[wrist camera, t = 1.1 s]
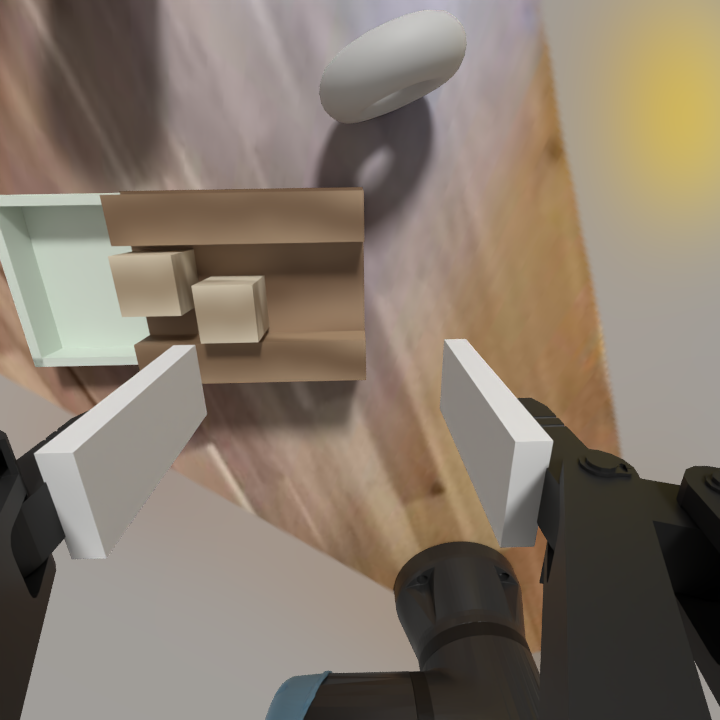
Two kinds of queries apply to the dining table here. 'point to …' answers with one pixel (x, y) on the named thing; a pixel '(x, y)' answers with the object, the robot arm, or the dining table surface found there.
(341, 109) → the donut
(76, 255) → the tray
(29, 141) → the dining table surface
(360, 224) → the slot board
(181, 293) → the tan wooden cube
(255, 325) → the beige wooden cube
